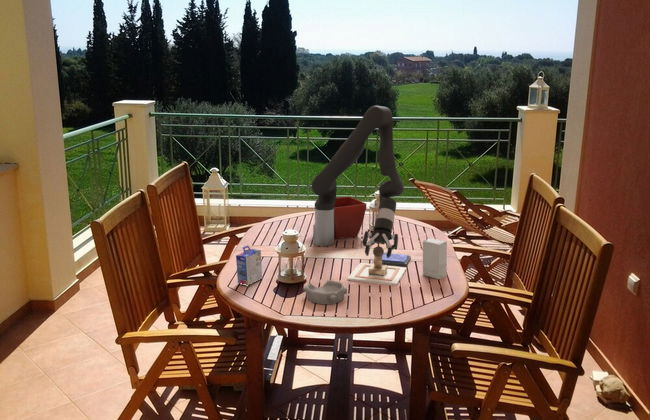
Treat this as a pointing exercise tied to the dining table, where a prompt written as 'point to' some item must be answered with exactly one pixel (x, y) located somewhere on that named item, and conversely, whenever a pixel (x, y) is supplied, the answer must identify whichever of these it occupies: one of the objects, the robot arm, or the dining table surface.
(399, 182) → the robot arm
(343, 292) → the dish
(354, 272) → the marked board
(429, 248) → the skincare box
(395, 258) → the ink pad
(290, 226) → the dining table surface
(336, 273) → the dining table surface
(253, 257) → the ink cartridge box
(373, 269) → the rubber stamp
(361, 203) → the plant pot
